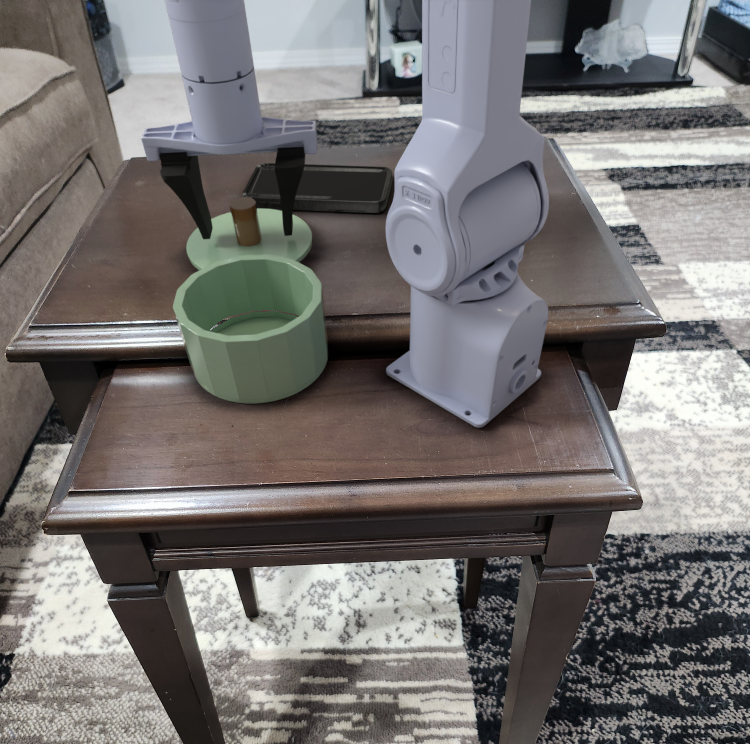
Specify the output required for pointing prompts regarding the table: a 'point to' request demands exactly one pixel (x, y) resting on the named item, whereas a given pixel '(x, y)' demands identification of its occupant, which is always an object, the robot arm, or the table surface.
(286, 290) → the pot
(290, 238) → the pot lid
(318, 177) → the phone
